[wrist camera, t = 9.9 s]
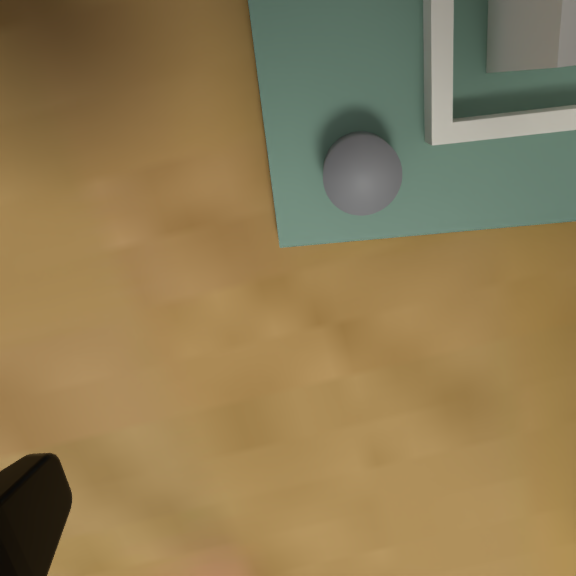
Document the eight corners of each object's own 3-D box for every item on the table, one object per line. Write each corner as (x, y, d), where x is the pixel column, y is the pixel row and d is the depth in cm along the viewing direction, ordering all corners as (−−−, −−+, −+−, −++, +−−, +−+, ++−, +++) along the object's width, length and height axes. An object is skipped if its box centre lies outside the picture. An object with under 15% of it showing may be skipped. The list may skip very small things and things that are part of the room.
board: (808, 191, 16) (890, 209, 14) (282, 239, 18) (275, 262, 16) (947, -294, 12) (1101, -389, 10) (232, -160, 14) (212, -211, 12)
